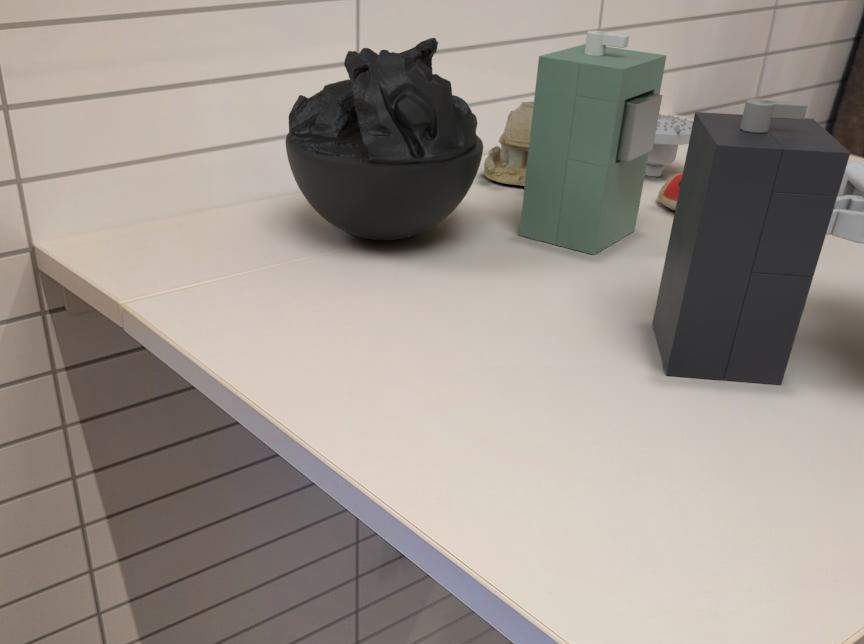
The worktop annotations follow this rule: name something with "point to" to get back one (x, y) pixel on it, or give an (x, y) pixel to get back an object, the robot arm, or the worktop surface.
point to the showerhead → (667, 142)
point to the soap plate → (638, 126)
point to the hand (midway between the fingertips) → (805, 215)
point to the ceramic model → (512, 148)
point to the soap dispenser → (585, 144)
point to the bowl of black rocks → (384, 145)
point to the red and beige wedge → (670, 192)
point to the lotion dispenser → (745, 241)
